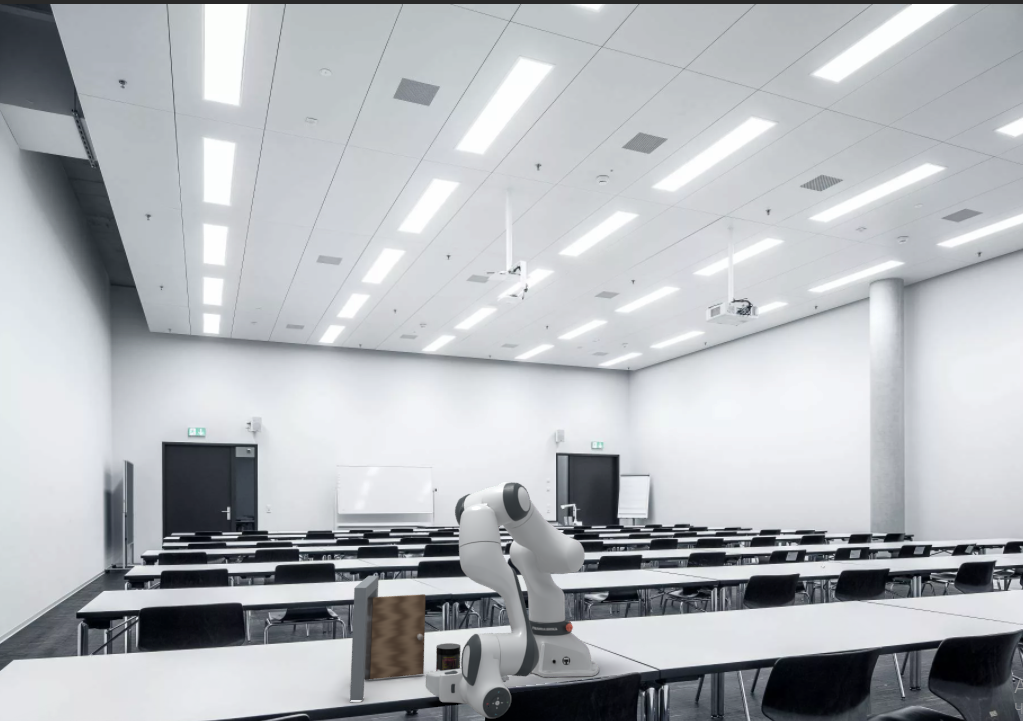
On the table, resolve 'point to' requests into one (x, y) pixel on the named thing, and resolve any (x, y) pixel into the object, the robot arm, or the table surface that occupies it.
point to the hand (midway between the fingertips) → (455, 670)
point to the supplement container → (448, 656)
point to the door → (395, 636)
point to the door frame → (360, 634)
